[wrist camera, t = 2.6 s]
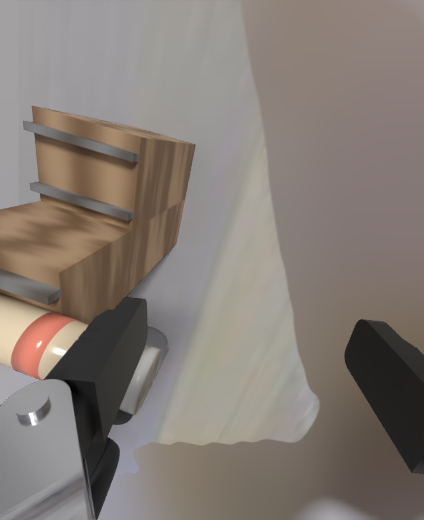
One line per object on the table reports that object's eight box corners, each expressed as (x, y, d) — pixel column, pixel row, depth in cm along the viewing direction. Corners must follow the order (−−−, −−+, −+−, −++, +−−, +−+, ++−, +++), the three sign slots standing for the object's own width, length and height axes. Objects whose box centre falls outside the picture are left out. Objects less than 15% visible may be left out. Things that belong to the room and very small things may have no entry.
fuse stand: (195, 144, 41) (30, 122, 12) (176, 243, 50) (55, 370, 21) (133, 127, 42) (-166, 64, 13) (125, 227, 51) (-61, 328, 22)
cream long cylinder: (164, 337, 18) (136, 389, 14) (157, 373, 20) (130, 428, 16) (-58, 260, 19) (-141, 287, 15) (-44, 301, 21) (-114, 335, 17)
